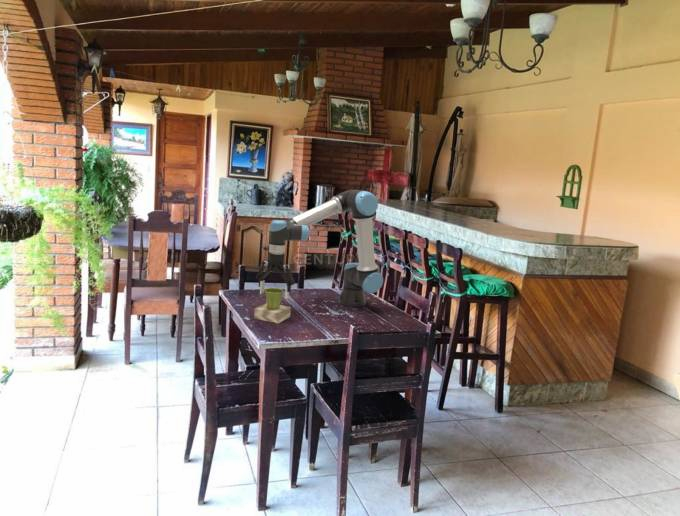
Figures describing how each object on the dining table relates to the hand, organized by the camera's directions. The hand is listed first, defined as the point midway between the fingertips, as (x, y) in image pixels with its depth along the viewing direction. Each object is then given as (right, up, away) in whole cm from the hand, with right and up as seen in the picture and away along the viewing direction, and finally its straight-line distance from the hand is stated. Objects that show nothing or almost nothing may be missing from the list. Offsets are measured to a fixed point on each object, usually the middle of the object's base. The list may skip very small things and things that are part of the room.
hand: (274, 296), depth 256 cm
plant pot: (-1, -6, +1) cm, 6 cm away
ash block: (-1, -11, +2) cm, 11 cm away
